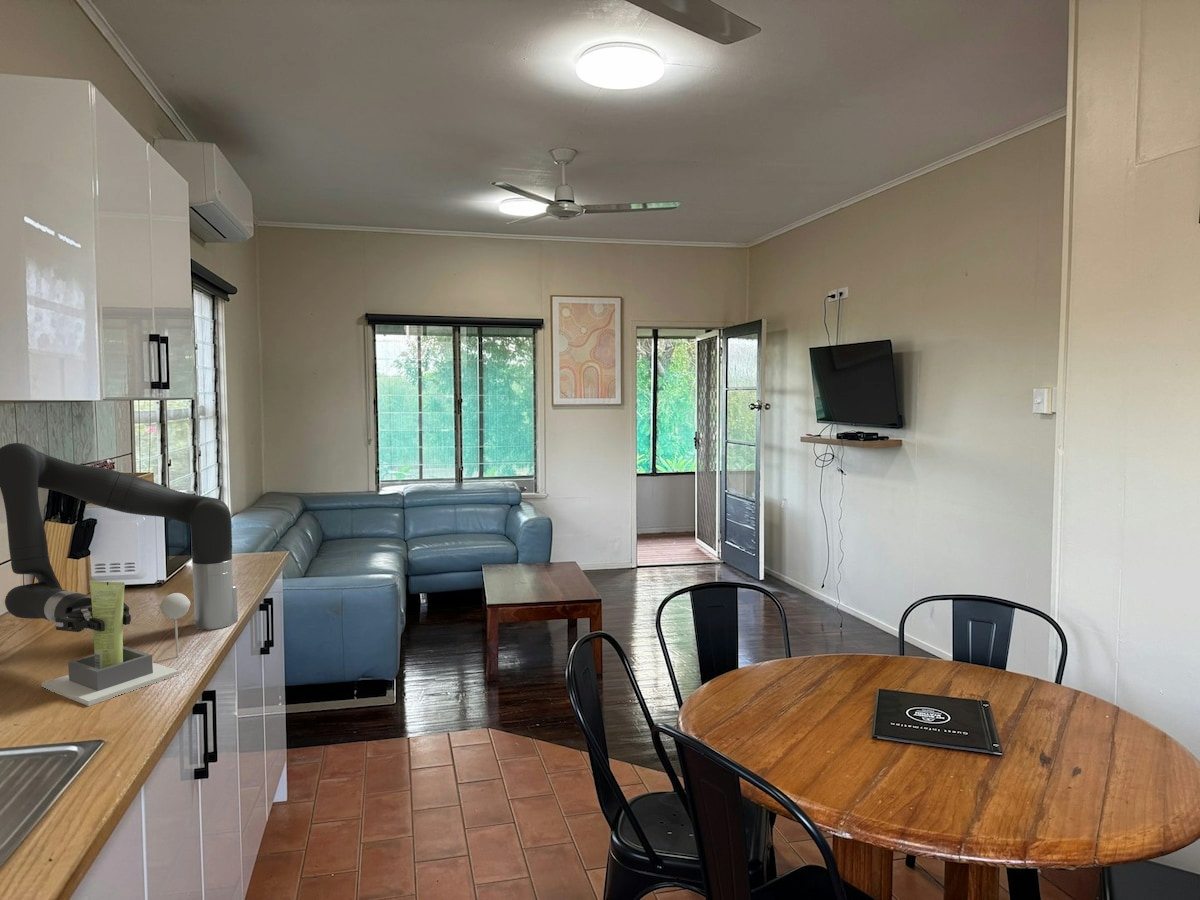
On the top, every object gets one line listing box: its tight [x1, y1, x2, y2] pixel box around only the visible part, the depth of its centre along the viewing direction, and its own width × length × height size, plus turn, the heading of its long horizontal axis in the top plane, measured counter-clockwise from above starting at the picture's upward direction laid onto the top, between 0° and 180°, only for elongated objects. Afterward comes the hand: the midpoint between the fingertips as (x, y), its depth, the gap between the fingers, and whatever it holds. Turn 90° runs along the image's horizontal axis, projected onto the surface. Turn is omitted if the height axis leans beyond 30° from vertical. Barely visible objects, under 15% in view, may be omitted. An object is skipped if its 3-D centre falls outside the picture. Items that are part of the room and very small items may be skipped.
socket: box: [41, 645, 180, 707], centre depth 157 cm, size 18×18×5 cm
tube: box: [89, 580, 126, 669], centre depth 156 cm, size 6×5×20 cm
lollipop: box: [159, 592, 191, 657], centre depth 171 cm, size 6×6×15 cm
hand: (115, 623), depth 155 cm, fingers closed on tube, 4 cm apart
